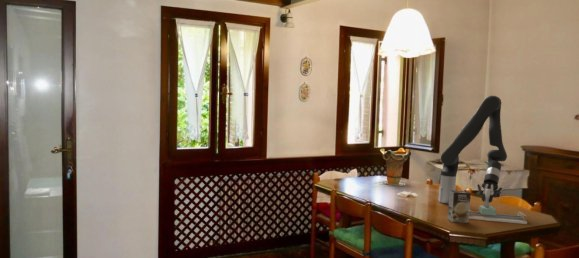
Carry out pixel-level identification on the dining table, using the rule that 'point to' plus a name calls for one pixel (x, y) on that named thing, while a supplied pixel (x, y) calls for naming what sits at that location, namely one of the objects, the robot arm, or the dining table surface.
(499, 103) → the robot arm
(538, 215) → the dining table surface
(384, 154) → the decorative vase
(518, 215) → the rail track
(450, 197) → the coffee box
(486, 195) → the carriage
